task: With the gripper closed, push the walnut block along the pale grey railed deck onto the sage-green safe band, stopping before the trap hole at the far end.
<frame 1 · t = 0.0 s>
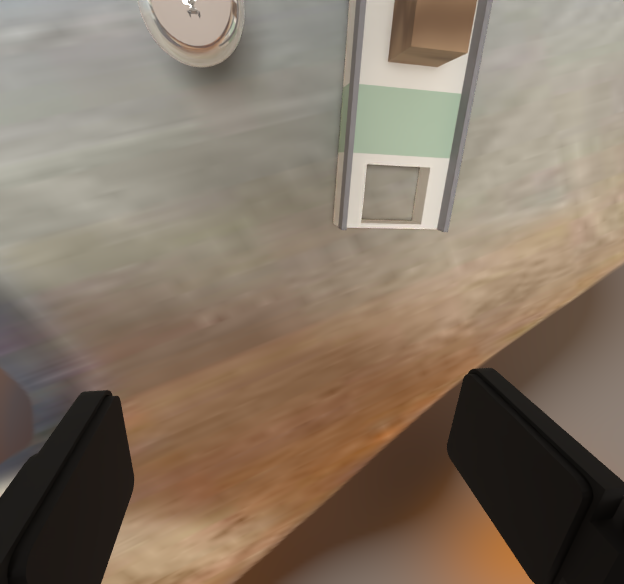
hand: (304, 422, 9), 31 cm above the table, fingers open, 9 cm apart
light bulb: (206, 44, 32), on the table
walnut block: (417, 32, 32), point 2 cm above the table, touching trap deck
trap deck: (401, 76, 35), on the table
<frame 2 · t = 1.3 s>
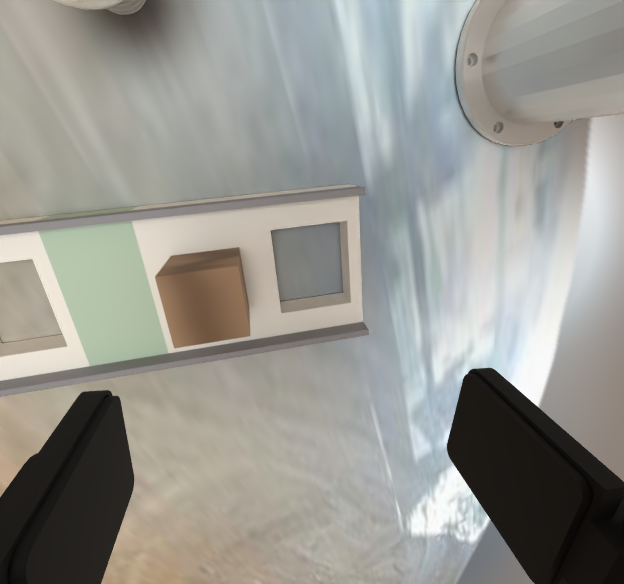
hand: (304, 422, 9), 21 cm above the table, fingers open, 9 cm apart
walnut block: (211, 282, 27), point 2 cm above the table, touching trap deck
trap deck: (177, 277, 29), on the table
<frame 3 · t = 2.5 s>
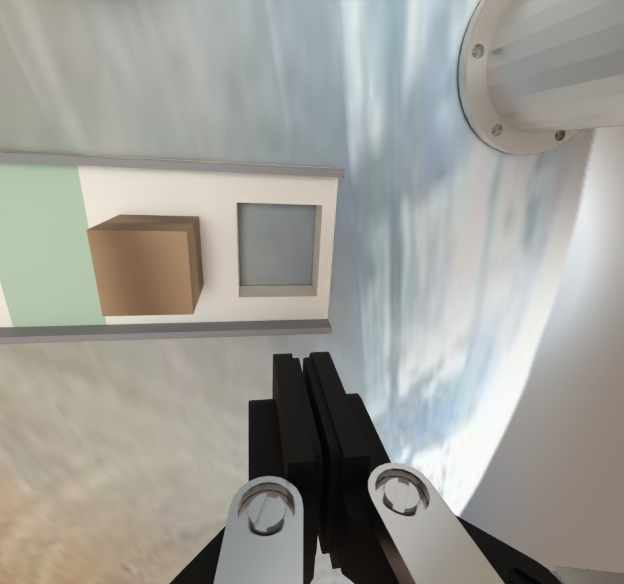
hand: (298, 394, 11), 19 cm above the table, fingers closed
walnut block: (163, 251, 24), point 2 cm above the table, touching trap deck
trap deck: (129, 242, 26), on the table
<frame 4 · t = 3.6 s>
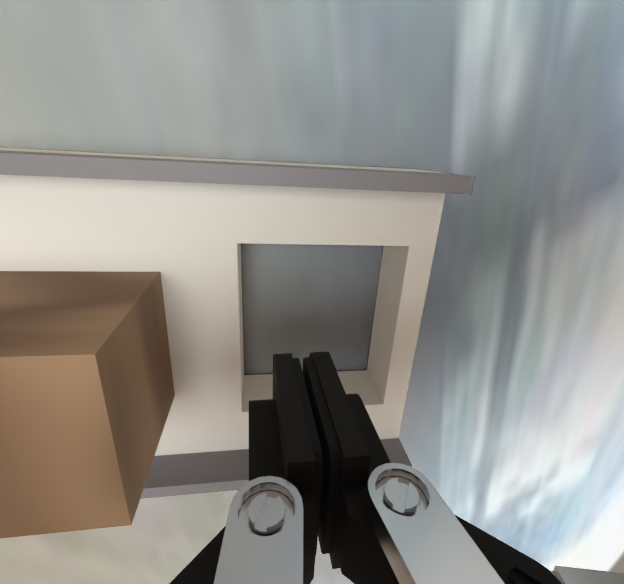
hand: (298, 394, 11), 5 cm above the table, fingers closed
walnut block: (91, 340, 12), point 2 cm above the table, touching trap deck
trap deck: (37, 310, 14), on the table
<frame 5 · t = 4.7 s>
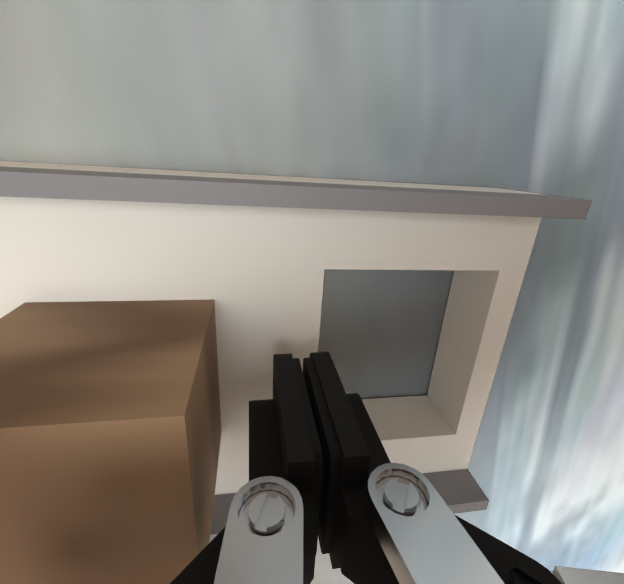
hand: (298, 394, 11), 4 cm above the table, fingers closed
walnut block: (135, 374, 11), point 2 cm above the table, touching gripper, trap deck
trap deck: (90, 338, 13), on the table
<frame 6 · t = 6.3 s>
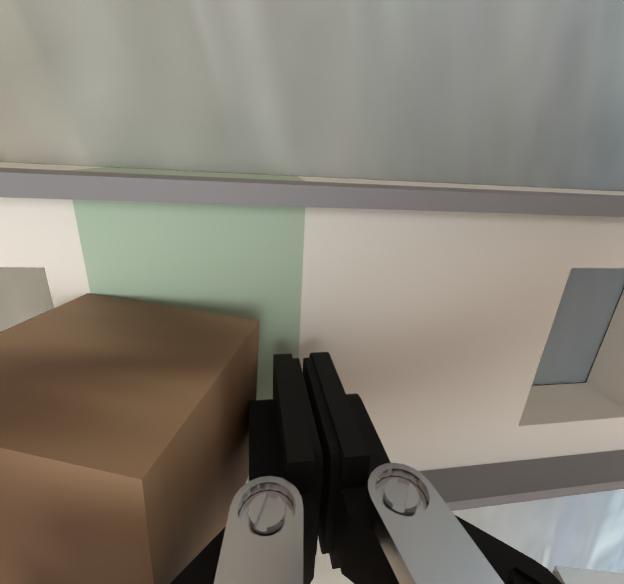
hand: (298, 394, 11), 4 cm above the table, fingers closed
walnut block: (175, 383, 10), point 3 cm above the table, tilted 19°, touching gripper, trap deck
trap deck: (326, 330, 14), on the table
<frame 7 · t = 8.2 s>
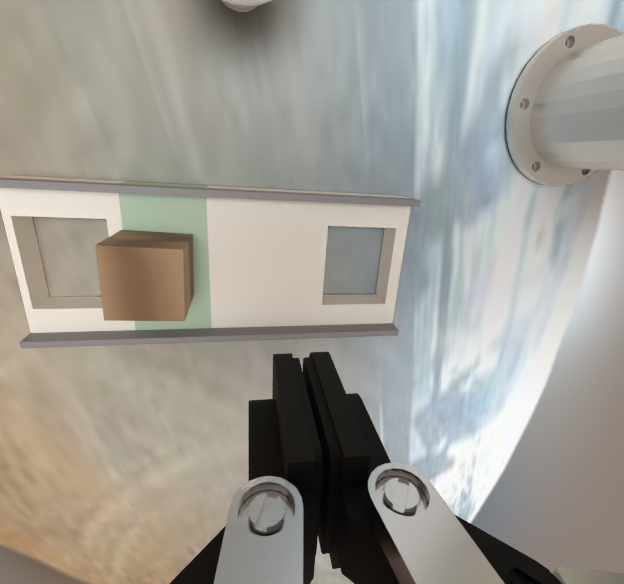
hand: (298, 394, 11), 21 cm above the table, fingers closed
walnut block: (159, 263, 27), point 2 cm above the table, touching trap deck
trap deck: (229, 258, 30), on the table
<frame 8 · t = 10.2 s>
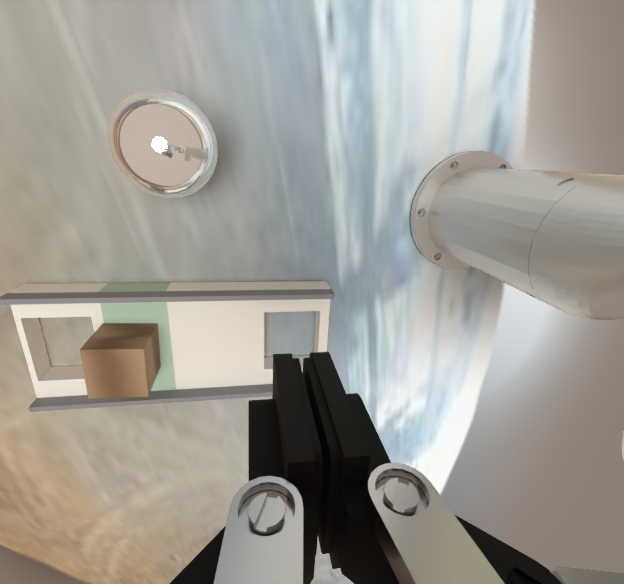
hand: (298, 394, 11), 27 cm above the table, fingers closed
light bulb: (186, 148, 32), on the table
walnut block: (132, 345, 35), point 2 cm above the table, touching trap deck
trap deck: (190, 333, 38), on the table
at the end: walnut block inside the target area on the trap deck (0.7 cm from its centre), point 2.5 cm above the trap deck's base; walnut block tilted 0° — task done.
